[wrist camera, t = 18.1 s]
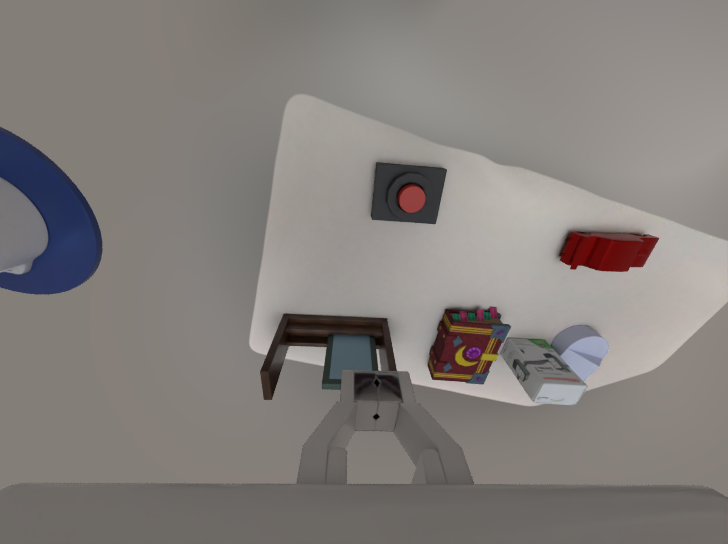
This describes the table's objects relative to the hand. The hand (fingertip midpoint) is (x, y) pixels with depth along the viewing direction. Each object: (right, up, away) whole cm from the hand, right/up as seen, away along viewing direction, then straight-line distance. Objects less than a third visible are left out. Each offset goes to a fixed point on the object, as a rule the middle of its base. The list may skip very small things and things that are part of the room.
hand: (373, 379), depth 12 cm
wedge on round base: (+43, -12, +45) cm, 64 cm away
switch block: (+6, +17, +29) cm, 34 cm away
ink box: (+34, -11, +44) cm, 57 cm away
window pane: (-3, -7, +39) cm, 40 cm away
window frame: (-6, -6, +40) cm, 41 cm away
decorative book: (+20, -9, +42) cm, 48 cm away
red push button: (+6, +16, +25) cm, 30 cm away
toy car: (+41, +10, +34) cm, 54 cm away
